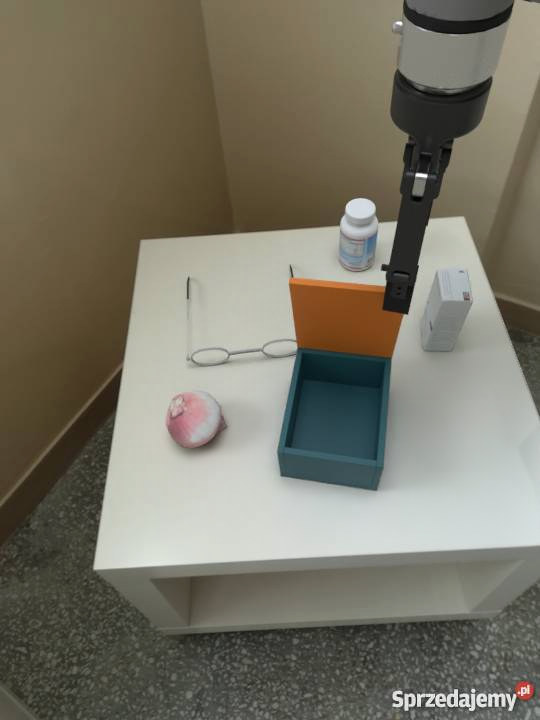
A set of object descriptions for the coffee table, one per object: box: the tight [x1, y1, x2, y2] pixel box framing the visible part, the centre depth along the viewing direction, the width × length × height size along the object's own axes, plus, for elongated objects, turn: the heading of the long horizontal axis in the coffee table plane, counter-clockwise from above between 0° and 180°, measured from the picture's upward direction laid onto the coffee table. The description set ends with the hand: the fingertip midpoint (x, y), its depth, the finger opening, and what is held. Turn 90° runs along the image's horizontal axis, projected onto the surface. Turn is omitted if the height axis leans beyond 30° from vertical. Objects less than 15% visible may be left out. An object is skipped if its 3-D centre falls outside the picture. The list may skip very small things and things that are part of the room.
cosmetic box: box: [420, 267, 474, 352], centre depth 76 cm, size 6×4×12 cm
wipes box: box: [276, 347, 393, 492], centre depth 70 cm, size 16×13×8 cm
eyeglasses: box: [185, 264, 297, 367], centre depth 84 cm, size 18×19×4 cm
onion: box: [165, 389, 228, 449], centre depth 72 cm, size 8×8×7 cm
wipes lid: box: [288, 276, 405, 359], centre depth 63 cm, size 16×13×1 cm
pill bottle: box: [338, 197, 379, 272], centre depth 86 cm, size 6×6×11 cm
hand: (406, 263), depth 59 cm, fingers open, 13 cm apart
